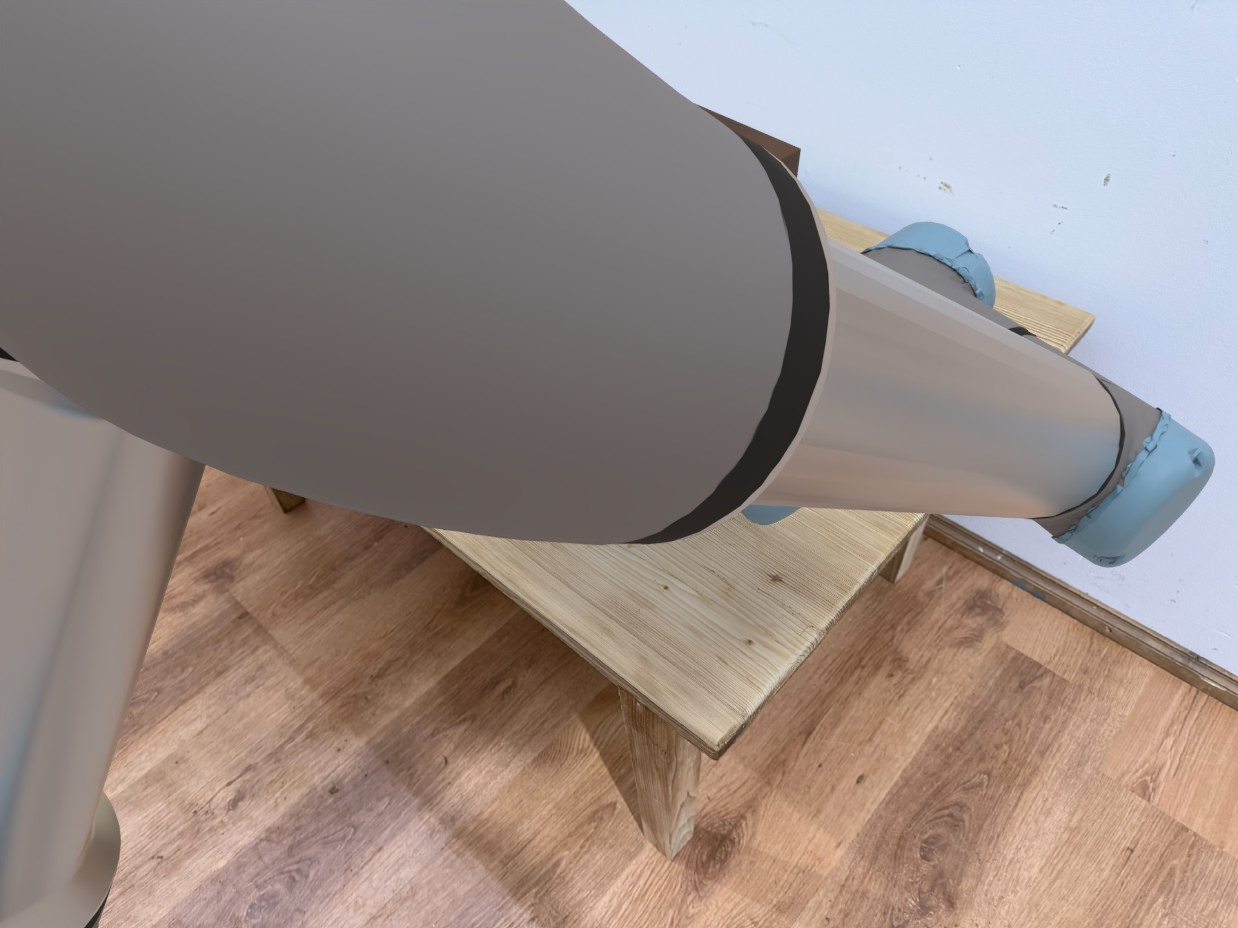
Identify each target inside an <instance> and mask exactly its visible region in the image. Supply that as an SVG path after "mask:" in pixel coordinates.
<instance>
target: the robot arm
mask: <svg viewBox="0 0 1238 928" xmlns="http://www.w3.org/2000/svg"><path fill="white" fill-rule="evenodd" d="M694 103H695V102H693V101H692V100H691V99H689V98H687V97H686V96H684V95H683V94H681V93H680V92H679V90H678V91H677V90H676V89H675V88H674V87H673V86H671V85H670V84H669V83H668V82H667V81H665V80H664V79H662V78H661V77H660V76H658V75H657V74H656V73H655V72H654V71H652V70H651V69H650V68H649V67H648V66H646V64H643V63H642V62H641V61H640V60H638V59H637V58H636V57H634V56H633V55H632V54H631V53H629V52H628V51H627V50H626V49H624V48H623V47H622V46H621V45H619V44H618V43H617V42H616V41H614V40H613V39H611V38H610V37H609V36H608V35H607V34H605V33H604V32H603V31H601V30H600V29H599V28H598V27H597V26H595V25H594V23H593V24H592V23H591V22H590V21H589V20H588V19H587V18H585V17H584V16H583V15H582V14H581V13H580V12H579V11H578V10H576V9H575V8H574V7H573V6H572V5H570V4H569V3H568V2H567V1H566V0H0V928H99V926H100V921H101V919H102V915H103V913H104V909H105V907H106V904H107V901H108V899H109V895H110V892H111V889H112V885H113V883H114V880H115V877H116V874H117V871H118V865H119V862H120V857H121V848H122V837H121V826H120V823H119V819H118V816H117V814H116V810H115V809H114V807H113V804H112V802H111V800H110V799H109V797H108V796H107V794H106V793H105V791H104V788H105V785H106V781H107V778H108V776H109V773H110V768H111V766H112V762H113V760H114V756H115V753H116V750H117V747H118V745H119V744H118V743H119V741H120V737H121V734H122V731H123V727H124V724H125V721H126V718H127V715H128V712H129V709H130V705H131V703H132V699H133V696H134V694H135V690H136V687H137V684H138V680H139V677H140V674H141V671H142V668H143V666H144V662H145V659H146V655H147V653H148V650H149V647H150V646H149V645H150V644H151V643H150V642H151V639H152V636H153V634H154V630H155V627H156V624H157V621H158V618H159V614H160V611H161V608H162V605H163V601H164V599H165V595H166V592H167V589H168V586H169V583H170V580H171V576H172V574H173V570H174V567H175V564H176V561H177V558H178V555H179V551H180V548H181V545H182V542H183V539H184V535H185V533H186V530H187V526H188V523H189V520H190V516H191V513H192V511H193V507H194V504H195V501H196V498H197V494H198V492H199V488H200V485H201V482H202V479H203V476H204V473H205V469H206V467H207V466H208V467H209V468H212V469H215V470H216V471H219V472H222V473H225V474H227V475H230V476H233V477H236V478H238V479H241V480H245V481H247V482H251V483H254V484H258V485H261V486H264V487H268V488H272V489H274V490H277V491H281V492H286V493H288V494H291V495H294V496H295V495H296V496H299V497H302V498H305V499H308V500H311V501H315V502H318V503H321V504H325V505H328V506H332V507H336V508H341V509H344V510H348V511H349V510H350V511H353V512H358V513H363V514H366V515H371V516H375V517H380V518H384V519H388V520H393V521H398V522H402V523H407V524H411V525H416V526H418V527H419V526H420V527H424V528H429V529H435V530H443V531H448V532H449V531H450V532H457V533H463V534H470V535H476V536H484V537H490V538H497V539H504V540H505V539H507V540H516V541H528V542H540V543H541V542H545V543H558V544H559V543H560V544H573V545H587V546H588V545H589V546H608V545H609V546H610V545H642V546H643V545H656V544H657V545H658V544H661V545H662V544H668V543H674V542H680V541H685V540H688V539H691V538H693V537H697V536H699V535H703V534H705V533H709V532H710V531H712V530H713V529H715V528H717V527H719V526H721V525H722V524H725V523H726V522H729V521H730V520H731V519H734V518H735V517H736V516H737V515H739V513H741V515H743V517H745V519H746V520H748V521H749V522H750V523H753V524H755V525H759V526H770V525H773V524H776V523H778V522H780V521H782V520H784V519H785V518H787V517H790V515H792V514H793V513H795V512H797V511H798V510H800V509H802V508H809V509H810V508H813V509H827V510H828V509H830V510H831V509H832V510H848V511H849V510H850V511H870V512H887V513H888V512H890V513H907V514H909V513H910V514H924V515H925V514H929V515H947V516H963V517H964V516H966V517H985V518H1005V519H1023V520H1031V521H1033V522H1035V523H1036V524H1038V525H1039V527H1041V528H1043V530H1045V531H1047V533H1049V534H1050V535H1051V539H1052V540H1054V541H1055V542H1056V543H1058V544H1060V545H1064V546H1066V547H1068V548H1069V549H1070V550H1072V551H1074V552H1075V553H1076V554H1078V555H1080V556H1081V557H1083V558H1084V559H1086V560H1087V561H1089V562H1090V563H1092V564H1093V565H1096V566H1098V567H1101V568H1106V569H1107V568H1108V569H1109V568H1116V567H1121V566H1123V565H1125V564H1128V563H1129V562H1131V561H1132V560H1135V558H1137V557H1138V556H1140V554H1143V552H1144V551H1146V550H1147V549H1148V548H1150V547H1151V546H1152V545H1153V544H1154V543H1155V542H1156V541H1157V540H1159V539H1160V537H1162V536H1163V535H1164V534H1165V533H1166V532H1167V531H1168V530H1169V529H1170V528H1171V527H1172V526H1173V525H1174V524H1175V523H1176V522H1177V521H1178V519H1180V518H1181V517H1182V516H1183V515H1184V514H1185V512H1186V511H1187V510H1188V509H1189V507H1190V506H1192V504H1193V503H1194V501H1195V500H1196V499H1197V498H1198V496H1199V495H1200V494H1201V492H1202V491H1203V490H1204V488H1205V487H1206V485H1207V484H1208V482H1209V480H1210V478H1212V475H1213V473H1214V470H1215V466H1216V457H1215V452H1214V449H1213V447H1211V446H1210V444H1209V443H1208V442H1207V441H1205V440H1204V439H1203V438H1201V437H1200V436H1198V435H1197V434H1196V433H1194V432H1193V431H1190V430H1189V429H1188V428H1186V427H1185V426H1183V425H1182V424H1181V423H1179V422H1177V420H1175V419H1173V418H1172V415H1171V414H1170V413H1168V412H1167V411H1165V410H1164V409H1162V408H1160V407H1158V406H1157V407H1154V406H1153V405H1151V404H1150V403H1147V402H1146V401H1144V400H1142V399H1141V398H1139V397H1138V396H1136V395H1135V394H1133V393H1131V392H1129V391H1128V390H1127V389H1125V388H1123V387H1122V386H1120V385H1118V384H1116V383H1115V382H1114V381H1112V380H1110V379H1108V378H1107V377H1105V376H1103V375H1102V374H1101V373H1099V372H1097V371H1095V370H1094V369H1093V368H1090V367H1089V366H1087V365H1085V364H1083V363H1082V362H1080V361H1078V360H1077V359H1075V358H1073V357H1072V356H1070V355H1068V354H1066V353H1065V352H1063V351H1062V350H1060V349H1059V348H1056V347H1055V346H1052V345H1051V344H1050V343H1047V341H1045V340H1043V339H1041V338H1039V337H1038V336H1037V334H1034V333H1032V332H1031V331H1029V330H1028V329H1027V328H1026V327H1024V325H1023V326H1022V325H1021V324H1020V323H1018V322H1016V321H1015V320H1013V319H1011V318H1010V317H1008V316H1006V315H1005V314H1003V313H1001V312H1000V311H998V310H997V309H995V308H994V307H995V303H996V300H997V299H996V297H997V291H996V283H995V278H994V274H993V272H992V270H991V267H990V265H989V263H988V262H987V261H988V260H986V259H985V257H984V256H983V254H982V253H978V252H976V251H974V250H973V249H972V247H970V243H969V240H968V238H967V236H965V235H964V234H962V233H961V232H960V231H958V230H956V229H955V228H953V227H951V226H949V225H946V224H943V223H939V222H935V221H918V222H913V223H911V224H908V225H906V226H904V227H902V228H901V229H899V230H897V231H896V232H895V233H893V234H891V235H889V236H888V237H887V238H885V239H884V240H882V241H880V242H878V243H877V244H876V245H873V246H870V247H869V246H868V247H866V248H865V249H863V250H862V251H861V252H858V251H856V250H854V249H852V248H850V247H848V246H847V245H845V244H843V243H841V242H839V241H837V240H836V239H833V238H832V237H829V236H827V233H826V229H825V225H824V224H823V222H822V220H821V217H820V214H819V212H818V210H817V208H816V205H815V203H814V201H813V200H812V198H811V197H810V195H809V193H808V192H807V190H806V188H805V187H804V185H803V184H802V182H801V181H800V180H799V179H798V177H797V178H796V177H795V176H794V175H793V173H792V172H791V171H790V170H789V169H788V168H787V167H786V166H785V165H784V163H783V162H781V161H780V160H779V159H777V158H776V157H775V156H774V155H772V154H771V153H770V152H768V151H767V150H766V149H764V148H763V147H762V146H760V145H758V144H757V143H755V142H753V141H751V140H750V139H748V138H746V137H745V136H743V135H741V134H739V133H738V132H736V131H734V130H733V129H731V128H729V127H728V126H726V125H724V124H723V123H722V122H720V121H719V120H717V119H716V118H714V117H713V116H712V115H710V114H709V113H707V112H706V111H704V110H703V109H702V108H700V107H699V106H697V105H698V104H697V103H695V104H694ZM696 104H697V105H696Z"/></svg>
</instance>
